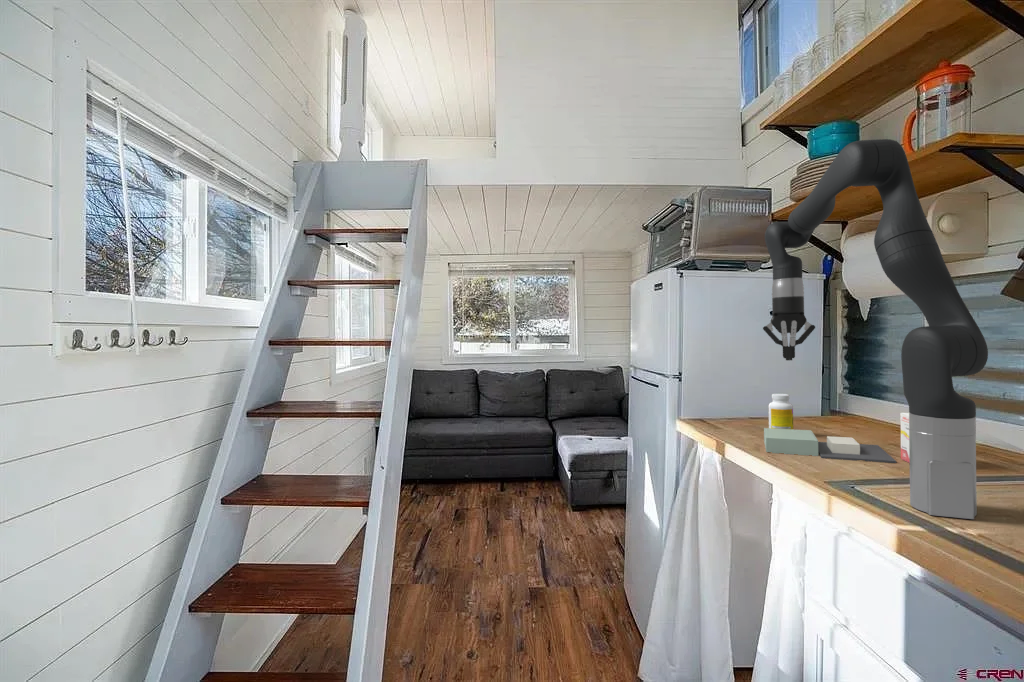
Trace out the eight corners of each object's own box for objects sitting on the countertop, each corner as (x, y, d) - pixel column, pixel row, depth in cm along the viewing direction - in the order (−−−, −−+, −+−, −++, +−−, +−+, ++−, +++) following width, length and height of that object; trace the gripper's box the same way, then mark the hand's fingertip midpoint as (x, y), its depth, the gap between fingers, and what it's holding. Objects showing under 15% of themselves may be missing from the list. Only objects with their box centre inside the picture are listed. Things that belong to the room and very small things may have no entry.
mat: (896, 463, 123) (896, 461, 123) (821, 458, 129) (821, 456, 129) (877, 446, 139) (877, 444, 139) (812, 443, 146) (812, 441, 145)
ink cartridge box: (899, 459, 126) (898, 400, 126) (921, 459, 125) (921, 400, 125) (919, 468, 118) (918, 405, 118) (943, 469, 117) (943, 405, 117)
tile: (832, 443, 132) (832, 452, 132) (859, 444, 130) (860, 454, 130) (826, 436, 140) (826, 445, 140) (852, 437, 138) (852, 446, 138)
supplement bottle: (797, 439, 151) (796, 396, 151) (773, 438, 152) (772, 396, 152) (788, 434, 158) (788, 393, 157) (765, 434, 159) (765, 393, 158)
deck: (818, 456, 131) (818, 440, 131) (766, 452, 136) (766, 437, 136) (811, 444, 144) (811, 430, 144) (764, 441, 149) (763, 428, 149)
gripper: (760, 296, 137) (762, 361, 137) (817, 293, 131) (819, 361, 131) (760, 298, 143) (761, 359, 144) (814, 295, 138) (815, 359, 138)
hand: (789, 360), depth 137 cm, fingers closed
